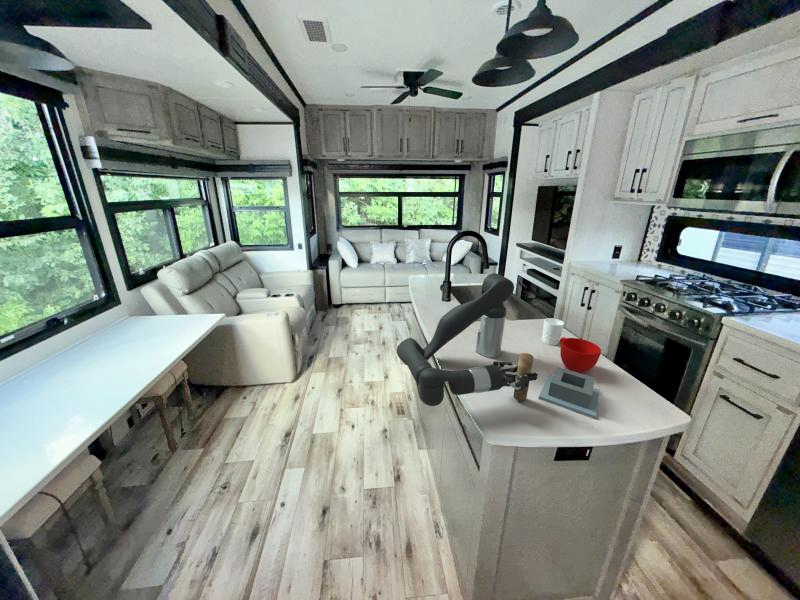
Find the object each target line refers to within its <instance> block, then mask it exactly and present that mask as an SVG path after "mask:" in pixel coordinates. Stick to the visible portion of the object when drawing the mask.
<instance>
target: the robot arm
mask: <svg viewBox="0 0 800 600" xmlns="http://www.w3.org/2000/svg"><path fill="white" fill-rule="evenodd" d="M514 284H515V283H514V282H513V281H512V280H511V279H510V278H507V277H506V276H503V275H502V274H499V273H495V272H494V273H489V274H488V275H487V276H485V278H484V279H483V282H482V284H481V292H480V293H481V295H480V296H478V297H477V298H475V299H472V300H470V301H467V302H464V303H462V304H459V305H456V306H454V307H453V308H451V309H450V310H448V311H447V312H446V313H445V314H443V316H441V318H440V319H439V321H438V322H437V323H438V324H437V325H436V329H435V331H434V334H433V336H432V339H431V341H429V342H428V344H427V345H426V346H425V347H424V348H423V347H422V346H421V344H419V342H418V341H417V340H416V339H415V338H412V337H408V338H406V339H404V340H402V341H401V342H400V343H399V344H398V345H397V347H396V354H397V357H398V358H399V359H400V360H401V361H402V363H404V365H406V366H407V368H408V370H409V371H410V374H411V376H412V378H413V379H414V381H415V385H416V389H417V394H418V397H419V399H420V401H421V402H422V404H424V405H426V406H429V407H436V406H439V405H441V404H442V402H443V401H444V398H445V382H447V383H448V387H449V390H450V392H451V393H452V395H455V396H463V395H469V394H479V393H480V394H482V393H486V392H487V393H488V392H493V391H498V390H501V389H502V388H503V387H511V388H513V389H514V388H515V389H514V390H513V392H514V391H515V392H519V391H521V390H523V389H525V388H527V387H528V388H529V387H530V386H529V385H530V382H531V381H532V382H533V381H536V380H537V379H538V376H539V375H538V372H531V373H529V374H519V373H517V369H518V364H517V365H516V364H513V363H512V362H510V361H499V360H498V361H497V360H496V361H493V363H492V364H489V365H481V366H475V367H471V368H467V369H466V368H465V369H458V370H449V369H442V368H441V369H440V368H437V367H433V366H432V365H431V363H430V362H429V361H428V360H430V359H431V357H433V356H434V355H435V354H436V353H437V352H438V351H439V350H440V349H441V348H443V347H444V346H445V345H446V344H447V343H449V342H450V341H452V340H453V339H455V337H458V336H459V335H460V334H461V333H463V332H464V331H465V330H466V329H467V328H469V327H470V326H471V325H472V324H474V323H475V322H476V321H477V320H479V319H480V325H479V329H478V331H477V336H476V344H475V353H478V354H479V355H481V356H483V357H486V358H497V357H499V356H501V352H502V344H503V339H504V338H503V336H504V329H505V322H506V316H507V308H506V307H505V304H504V303H505V302H506V301H508V299H509V298H510V297H511V296H512V295H513V293H514V291H515V285H514ZM520 378H523V380H520Z"/></svg>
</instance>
